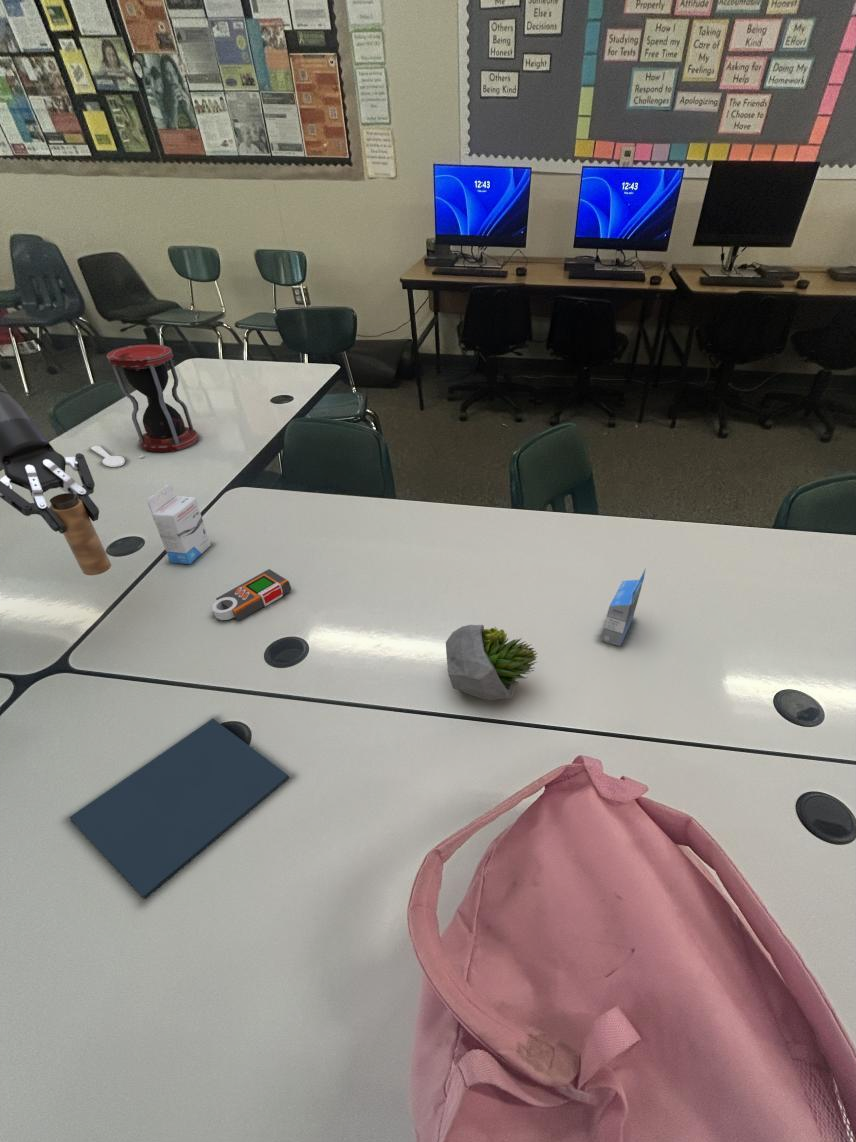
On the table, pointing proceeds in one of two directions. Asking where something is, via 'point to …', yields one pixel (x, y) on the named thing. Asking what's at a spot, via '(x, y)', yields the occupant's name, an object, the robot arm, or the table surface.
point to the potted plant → (486, 662)
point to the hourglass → (153, 397)
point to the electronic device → (251, 596)
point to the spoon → (109, 457)
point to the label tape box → (622, 611)
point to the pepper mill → (80, 534)
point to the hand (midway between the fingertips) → (80, 524)
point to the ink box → (179, 525)
